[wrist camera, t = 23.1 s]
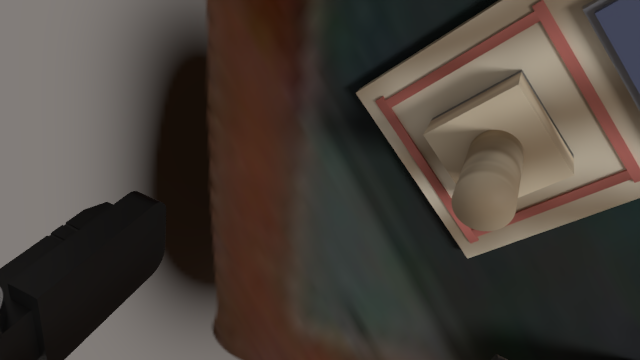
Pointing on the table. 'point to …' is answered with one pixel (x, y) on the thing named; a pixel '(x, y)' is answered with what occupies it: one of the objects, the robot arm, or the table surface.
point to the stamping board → (551, 87)
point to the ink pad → (619, 37)
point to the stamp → (498, 151)
